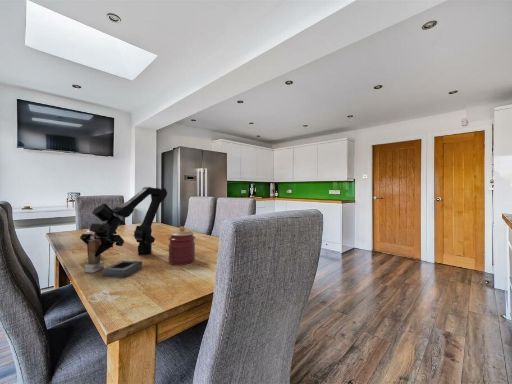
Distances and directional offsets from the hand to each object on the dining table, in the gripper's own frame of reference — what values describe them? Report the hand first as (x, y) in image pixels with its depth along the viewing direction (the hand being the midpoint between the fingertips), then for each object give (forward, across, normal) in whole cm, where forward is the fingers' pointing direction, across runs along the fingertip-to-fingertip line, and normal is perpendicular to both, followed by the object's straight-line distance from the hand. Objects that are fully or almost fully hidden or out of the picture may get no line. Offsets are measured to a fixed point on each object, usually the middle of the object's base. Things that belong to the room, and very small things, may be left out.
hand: (91, 256), depth 104 cm
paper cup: (-9, -17, +19) cm, 27 cm away
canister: (-9, +32, +19) cm, 39 cm away
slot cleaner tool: (+4, 0, +6) cm, 7 cm away
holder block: (+4, +14, +6) cm, 16 cm away
